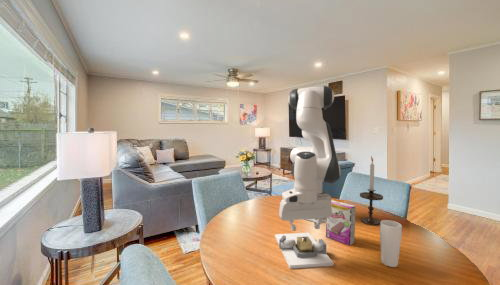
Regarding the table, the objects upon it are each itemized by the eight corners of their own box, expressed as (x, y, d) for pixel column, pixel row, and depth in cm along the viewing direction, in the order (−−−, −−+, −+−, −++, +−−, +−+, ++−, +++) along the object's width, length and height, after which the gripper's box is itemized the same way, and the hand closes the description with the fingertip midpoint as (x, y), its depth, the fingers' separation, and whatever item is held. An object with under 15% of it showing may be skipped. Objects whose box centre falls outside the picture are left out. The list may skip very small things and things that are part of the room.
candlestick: (354, 219, 125) (356, 155, 123) (370, 217, 129) (372, 154, 127) (370, 227, 115) (372, 157, 113) (387, 224, 118) (389, 156, 116)
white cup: (374, 258, 87) (376, 220, 86) (391, 257, 88) (393, 219, 87) (386, 269, 80) (388, 227, 80) (405, 268, 81) (406, 227, 80)
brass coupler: (307, 248, 92) (307, 234, 92) (311, 254, 88) (312, 240, 87) (296, 249, 92) (296, 235, 91) (300, 255, 87) (300, 241, 87)
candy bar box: (325, 237, 104) (326, 201, 103) (330, 234, 108) (331, 199, 107) (350, 246, 96) (351, 208, 95) (355, 242, 100) (356, 205, 99)
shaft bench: (308, 235, 106) (308, 224, 106) (333, 265, 83) (333, 252, 82) (272, 237, 105) (272, 226, 104) (287, 268, 81) (287, 255, 80)
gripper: (327, 190, 93) (327, 223, 94) (278, 193, 90) (278, 227, 92) (335, 195, 87) (334, 231, 88) (282, 198, 84) (282, 235, 85)
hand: (305, 229), depth 90 cm, fingers open, 8 cm apart
